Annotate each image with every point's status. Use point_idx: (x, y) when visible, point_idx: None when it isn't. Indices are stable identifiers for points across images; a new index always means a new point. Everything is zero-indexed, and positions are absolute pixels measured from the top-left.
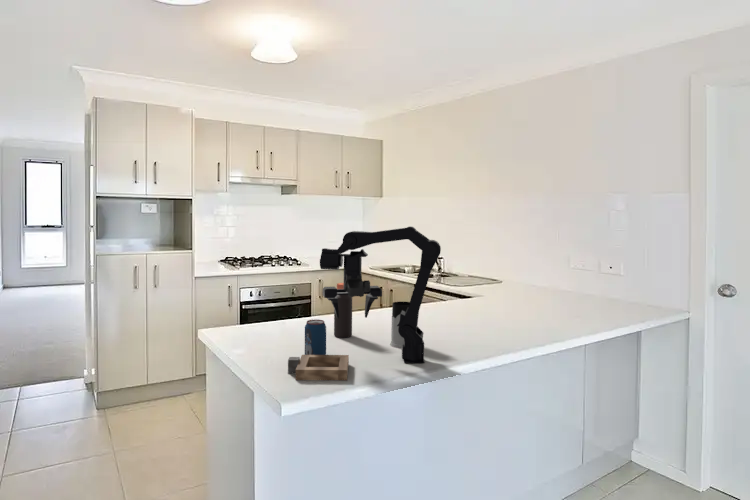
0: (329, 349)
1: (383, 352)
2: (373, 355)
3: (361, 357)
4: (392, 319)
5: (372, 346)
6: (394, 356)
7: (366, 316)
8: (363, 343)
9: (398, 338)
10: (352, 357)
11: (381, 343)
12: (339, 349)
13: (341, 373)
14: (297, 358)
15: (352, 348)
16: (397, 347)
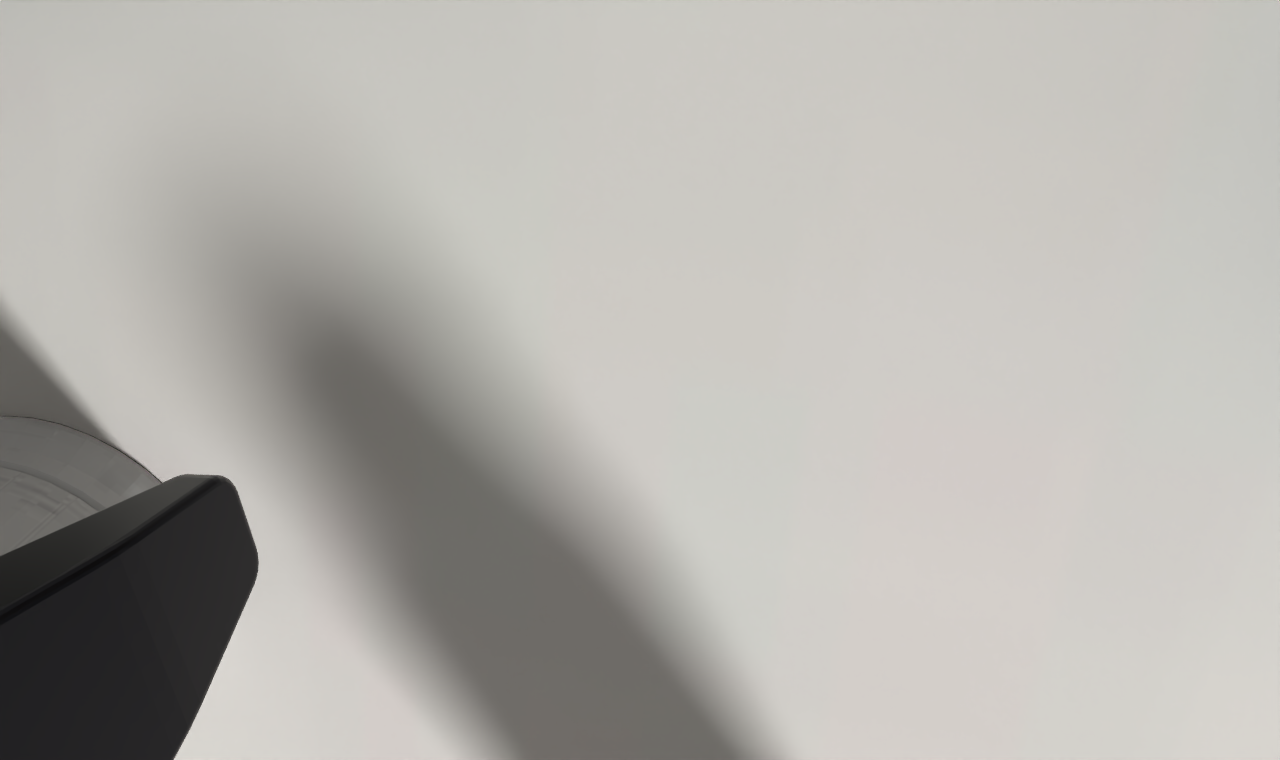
0: (1188, 573)
1: (304, 271)
2: (463, 132)
3: (682, 38)
4: None
5: (467, 577)
6: (123, 31)
7: (171, 492)
8: (589, 723)
9: (20, 543)
10: (853, 58)
11: (343, 670)
12: (1008, 541)
13: None
14: None
15: (780, 548)
16: (117, 454)
